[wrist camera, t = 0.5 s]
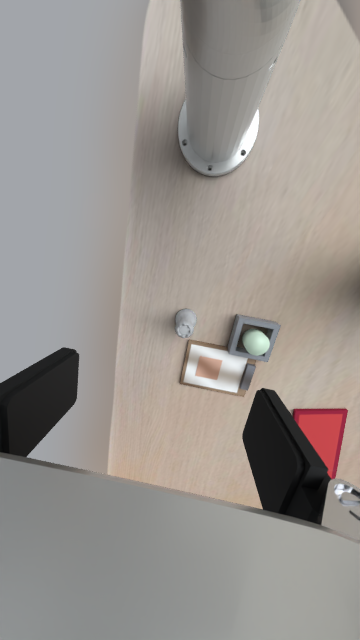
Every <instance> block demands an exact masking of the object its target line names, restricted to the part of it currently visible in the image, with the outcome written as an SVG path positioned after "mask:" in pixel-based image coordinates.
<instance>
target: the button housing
mask: <svg viewBox="0 0 360 640" xmlns="http://www.w3.org/2000/svg"><path fill="white" fill-rule="evenodd" d="M243 323H244V324H249V325H255V326H260V327H265V328H268V330H267V333H266V337H267V338H268V339H269V342H270V346H269V349H268V350H267V351H266V352H265V353H264V354H262V355H258V356H255V355H252V354H250V353H249V352H248V351H247V350H246V348H241V347H236V346H237V343H238V339H239V336H240V333H241V329H242V326H243ZM280 326H281V325H279V324H278V323H277V322H274V321H269V320H264V319H259V318H254V317H249V316H243V315H238V314H237V315H236V319H235V322H234V326H233V330H232V333H231V337H230V340H229V344H228V353H229V354H230V355H235V356H240V357H245V358H250V359H255V360H260V361H265V362H268V360H269V357H270V354H271V352H272V349H273V346H274V343H275V340H276V337H277V335H278V332H279V329H280Z"/></svg>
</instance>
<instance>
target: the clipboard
mask: <svg viewBox="0 0 360 640" xmlns="http://www.w3.org/2000/svg"><path fill="white" fill-rule="evenodd" d="M255 362H256V360H255V359H250V358H245V357H240V356H235V355H230V354H229V353H228V347H225V346H219V345H214V344H209V343H204V342H199V341H194V340H189V342H188V347H187V352H186V356H185V361H184V366H183V371H182V375H181V380H180V384H183V385H188V386H193V387H198V388H203V389H208V390H213V391H217V392H222V393H227V394H232V395H237V396H242V397H244V395H245V392H246V390H248V388H249V385H250V382H251V379H252V377H253V374H254V371H255V368H256V366H255Z"/></svg>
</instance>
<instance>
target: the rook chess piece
mask: <svg viewBox="0 0 360 640" xmlns="http://www.w3.org/2000/svg"><path fill="white" fill-rule="evenodd" d="M175 321H176V326H175V331H176V334H177V335H178V336H179V337H181V338H188V337H190V336H191V335H192V334H193V331H194V328H193V327H194V326H195V324H196V321H197V317H196V314H195V313H194V312H193V311H192V310H190V309H183V310H180V311H179V312H178V313H177V315H176V320H175Z"/></svg>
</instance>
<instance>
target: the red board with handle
mask: <svg viewBox="0 0 360 640" xmlns="http://www.w3.org/2000/svg"><path fill="white" fill-rule="evenodd" d="M347 412H348V410H347V409H294V412H293V418H294V420H295V421H296V423H297V424H298V426H299V427H300V428H301V430H302V431H303V433H304V434H305V436H306V437H307V439H308V440H309V442H310V443H311V444H312V446H313V447H314V449H315V450H316V452H317V453H318V455H319V456H320V458H321V459H322V460H323V462H324V463H325V465H326V466H327V468H328V469H329V470H328V472H327V473H328V475H329V476H330V478H331V479H335V477H336V472H337V466H338V461H339V455H340V450H341V445H342V439H343V434H344V428H345V423H346V418H347Z"/></svg>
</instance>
